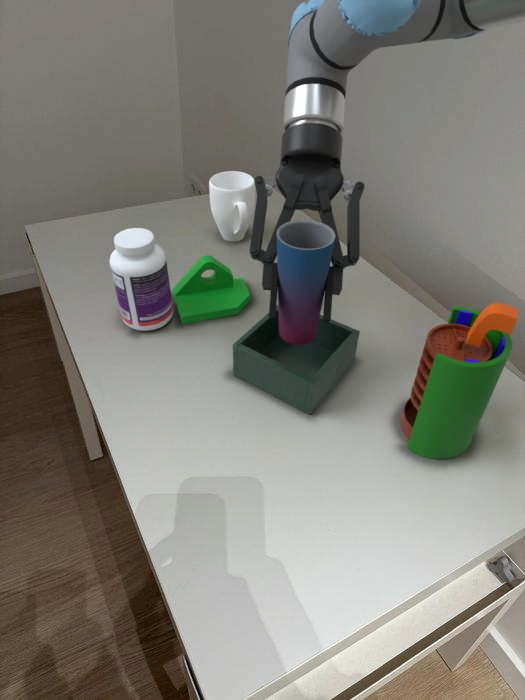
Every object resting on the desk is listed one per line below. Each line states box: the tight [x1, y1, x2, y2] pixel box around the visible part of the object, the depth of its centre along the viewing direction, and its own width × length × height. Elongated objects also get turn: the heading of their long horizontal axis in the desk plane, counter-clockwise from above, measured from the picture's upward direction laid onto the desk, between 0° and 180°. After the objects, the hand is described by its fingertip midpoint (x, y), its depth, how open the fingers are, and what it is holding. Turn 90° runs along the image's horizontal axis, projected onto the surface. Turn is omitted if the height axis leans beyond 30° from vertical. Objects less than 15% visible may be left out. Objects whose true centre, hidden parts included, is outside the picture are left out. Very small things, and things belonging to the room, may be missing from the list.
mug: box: [208, 170, 256, 242], centre depth 96 cm, size 12×8×11 cm
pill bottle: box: [109, 227, 174, 332], centre depth 77 cm, size 8×8×14 cm
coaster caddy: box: [400, 302, 519, 460], centre depth 60 cm, size 10×9×20 cm
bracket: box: [171, 254, 251, 325], centre depth 82 cm, size 12×8×7 cm, turn 107°
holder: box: [232, 304, 361, 416], centre depth 72 cm, size 13×13×6 cm
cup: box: [276, 219, 336, 345], centre depth 64 cm, size 7×7×15 cm
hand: (299, 318), depth 63 cm, fingers closed on cup, 6 cm apart
